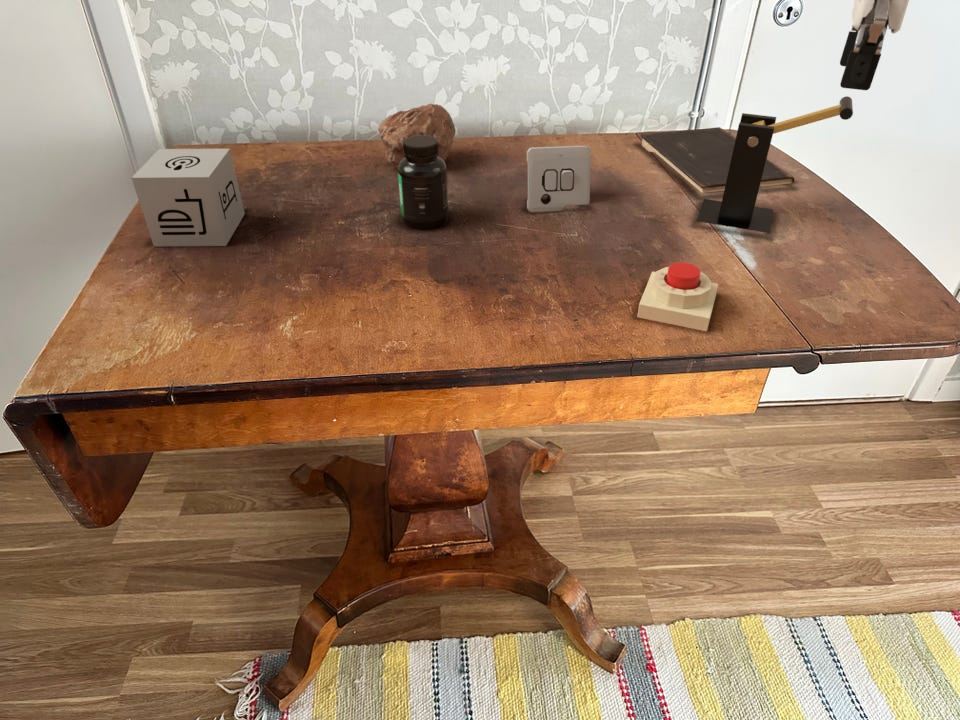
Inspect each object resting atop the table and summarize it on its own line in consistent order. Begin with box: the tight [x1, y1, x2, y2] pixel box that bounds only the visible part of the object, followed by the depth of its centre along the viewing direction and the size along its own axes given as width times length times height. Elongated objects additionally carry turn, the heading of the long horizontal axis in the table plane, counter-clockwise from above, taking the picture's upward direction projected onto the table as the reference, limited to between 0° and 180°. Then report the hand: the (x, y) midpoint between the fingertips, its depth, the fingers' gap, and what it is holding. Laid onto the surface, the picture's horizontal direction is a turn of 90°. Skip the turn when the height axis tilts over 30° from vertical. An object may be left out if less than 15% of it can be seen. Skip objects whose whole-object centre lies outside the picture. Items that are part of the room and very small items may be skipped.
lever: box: [753, 95, 854, 135], centre depth 91 cm, size 13×5×2 cm, turn 68°
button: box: [666, 262, 701, 290], centre depth 81 cm, size 4×4×2 cm
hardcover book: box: [639, 126, 795, 194], centre depth 118 cm, size 16×23×2 cm
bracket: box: [696, 112, 777, 234], centre depth 98 cm, size 10×8×15 cm
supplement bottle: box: [397, 135, 449, 231], centre depth 99 cm, size 7×7×12 cm
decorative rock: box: [377, 103, 457, 170], centre depth 117 cm, size 13×11×10 cm
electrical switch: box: [526, 145, 592, 213], centre depth 104 cm, size 9×5×9 cm, turn 95°
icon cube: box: [131, 148, 246, 248], centre depth 98 cm, size 10×10×10 cm
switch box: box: [636, 266, 719, 332], centre depth 83 cm, size 8×8×4 cm
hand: (853, 76), depth 86 cm, fingers open, 9 cm apart
